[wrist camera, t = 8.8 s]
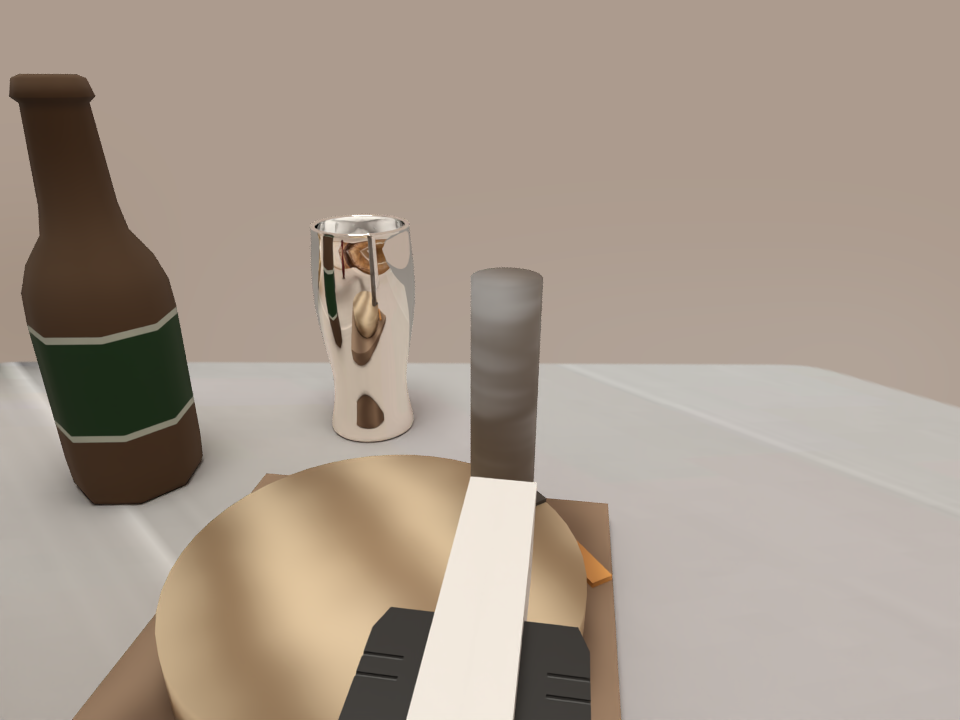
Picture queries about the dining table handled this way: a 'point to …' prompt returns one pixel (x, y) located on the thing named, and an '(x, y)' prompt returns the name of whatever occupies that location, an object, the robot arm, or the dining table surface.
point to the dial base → (148, 713)
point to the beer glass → (365, 320)
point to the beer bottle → (100, 312)
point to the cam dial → (358, 545)
